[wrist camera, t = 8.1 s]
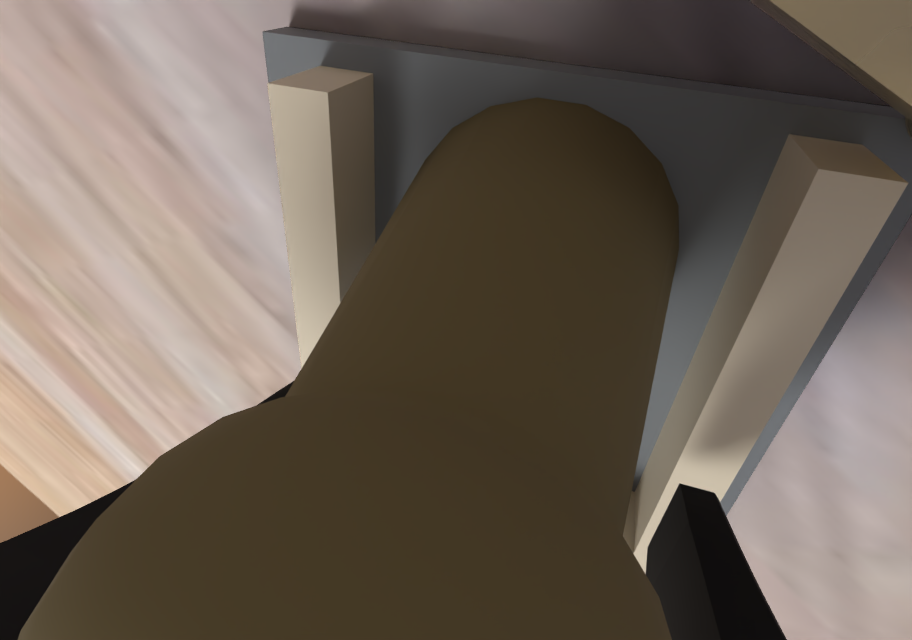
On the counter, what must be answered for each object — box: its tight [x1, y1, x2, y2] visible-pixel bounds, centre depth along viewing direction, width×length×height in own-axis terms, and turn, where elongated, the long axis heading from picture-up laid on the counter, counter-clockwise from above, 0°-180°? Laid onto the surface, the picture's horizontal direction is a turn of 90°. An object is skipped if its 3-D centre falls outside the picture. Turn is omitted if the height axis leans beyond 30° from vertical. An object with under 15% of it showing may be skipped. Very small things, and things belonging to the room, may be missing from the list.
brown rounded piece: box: [18, 97, 679, 640], centre depth 8 cm, size 6×6×11 cm
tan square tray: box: [263, 27, 912, 574], centre depth 13 cm, size 13×13×3 cm
